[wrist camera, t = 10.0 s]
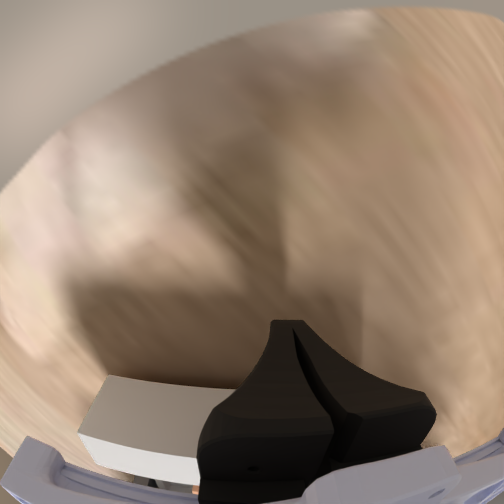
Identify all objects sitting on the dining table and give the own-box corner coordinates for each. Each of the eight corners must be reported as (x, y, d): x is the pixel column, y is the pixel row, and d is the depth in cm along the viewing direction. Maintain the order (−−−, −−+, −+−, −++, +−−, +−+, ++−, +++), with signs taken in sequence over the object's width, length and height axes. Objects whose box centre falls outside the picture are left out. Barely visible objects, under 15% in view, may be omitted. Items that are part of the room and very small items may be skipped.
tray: (366, 383, 14) (394, 445, 10) (318, 486, 18) (326, 529, 14) (109, 373, 14) (76, 432, 9) (151, 480, 18) (142, 522, 13)
